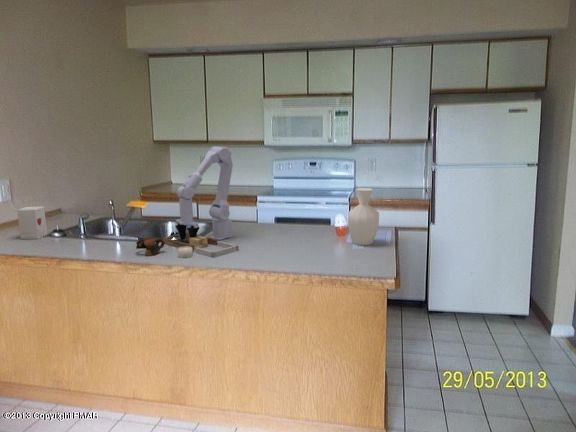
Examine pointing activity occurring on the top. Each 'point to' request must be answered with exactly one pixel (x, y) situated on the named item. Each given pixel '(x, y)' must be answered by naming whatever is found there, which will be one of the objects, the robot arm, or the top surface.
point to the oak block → (198, 241)
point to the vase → (363, 219)
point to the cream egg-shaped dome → (185, 252)
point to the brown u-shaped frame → (181, 244)
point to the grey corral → (227, 249)
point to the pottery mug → (150, 245)
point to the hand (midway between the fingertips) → (188, 240)
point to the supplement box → (32, 222)
